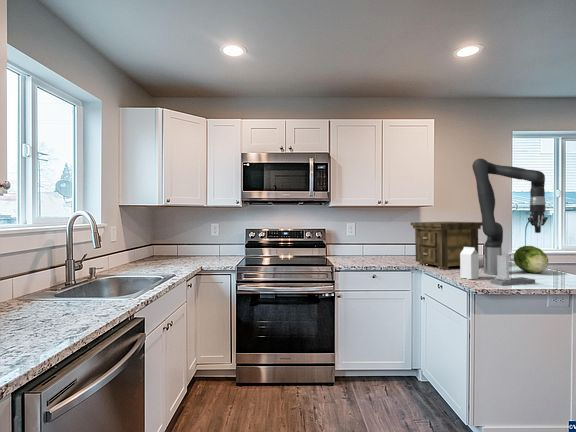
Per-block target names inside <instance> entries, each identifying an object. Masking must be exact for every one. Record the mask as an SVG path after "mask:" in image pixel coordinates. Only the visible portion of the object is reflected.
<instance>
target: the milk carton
mask: <svg viewBox="0 0 576 432" xmlns="http://www.w3.org/2000/svg"><path fill="white" fill-rule="evenodd" d="M479 259H480V258H479V252H478V253H477V251H476V250H475V248H473V247H464V249H463V250H462V252H461V253H460V266H459V268H460V269H459V270H460V271H459V273H460V274H459V275H460V278H461V277H462V278H461V279H463V278H467V279H466V280H469V279H474V280H479V279H480V273H479V272H480V271H479V270H480V268H479V266H480V265H479V263H480V262H479V261H480V260H479ZM478 278H479V279H478Z"/></svg>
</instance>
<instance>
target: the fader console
mask: <svg viewBox="0 0 576 432" xmlns="http://www.w3.org/2000/svg"><path fill="white" fill-rule="evenodd" d="M510 278H511V280H506V281H504V280H500V279H496V278H491V279H490V280H489V281H490V282H489V283H490V284H494V285H497V286H498V285H499V286H503V287H504V286H516V285H517V286H518V285H527V284H528V285H529V284H536V279H535V278H529V277H523V276H521V277H520V276H519V277H518V276H517V277H510Z"/></svg>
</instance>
